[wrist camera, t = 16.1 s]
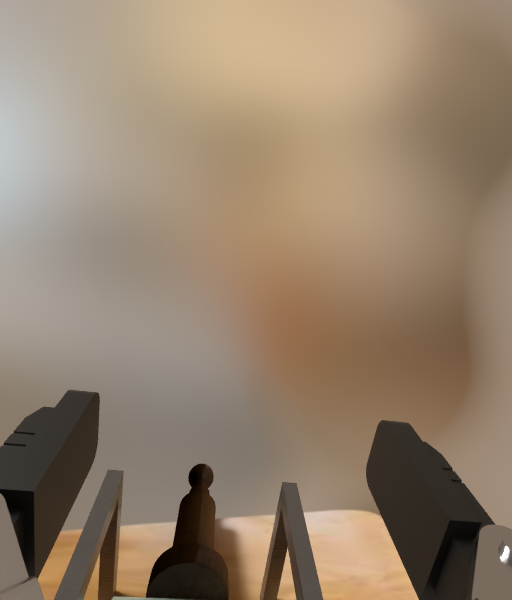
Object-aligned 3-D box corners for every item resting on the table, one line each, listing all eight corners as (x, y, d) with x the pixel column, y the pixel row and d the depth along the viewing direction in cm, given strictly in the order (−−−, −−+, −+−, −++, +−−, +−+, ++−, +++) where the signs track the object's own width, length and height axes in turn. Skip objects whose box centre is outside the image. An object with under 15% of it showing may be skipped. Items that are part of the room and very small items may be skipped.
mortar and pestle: (204, 645, 32) (212, 502, 50) (242, 583, 32) (237, 460, 50) (131, 615, 32) (166, 480, 49) (169, 550, 31) (190, 437, 49)
